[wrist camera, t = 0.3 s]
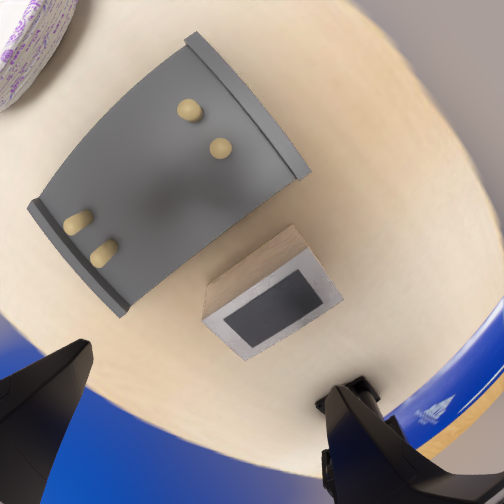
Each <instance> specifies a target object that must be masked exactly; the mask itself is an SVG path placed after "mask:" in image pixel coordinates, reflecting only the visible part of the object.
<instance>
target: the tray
mask: <svg viewBox="0 0 504 504" xmlns="http://www.w3.org/2000/svg"><path fill="white" fill-rule="evenodd" d="M184 42H185V43H186V45H185V46H184V47H183V48H181V49H180V50H178V51H177V52H176V53H174V54H173V55H172V56H170V57H169V58H168V59H166V60H165V61H164V62H163V63H161V64H160V65H159V66H158V67H156V68H155V69H154V70H153V71H151V72H150V73H149V74H148V75H147V76H145V77H144V78H143V79H142V80H141V81H140V82H139V83H137V84H136V85H135V86H134V87H133V88H132V89H131V90H130V91H129V92H128V93H126V94H125V95H124V96H123V97H122V98H121V99H120V100H119V101H118V102H117V103H116V104H115V105H114V106H113V107H112V108H111V109H110V110H109V111H108V112H107V113H106V114H105V115H104V116H103V117H102V118H101V119H100V120H99V121H98V123H97V124H96V125H95V126H94V127H93V128H92V129H91V130H90V131H89V132H88V134H87V135H86V136H85V137H84V138H83V139H82V140H81V142H80V143H79V144H78V145H77V146H76V148H75V149H74V150H73V151H72V153H71V154H70V155H69V156H68V158H67V159H66V160H65V161H64V163H63V164H62V165H61V167H60V168H59V169H58V171H57V172H56V173H55V175H54V176H53V178H52V179H51V180H50V182H49V183H48V185H47V186H46V188H45V189H44V190H43V192H42V193H41V195H40V196H39V198H36V199H33V200H32V201H31V202H30V204H29V206H28V207H27V210H28V211H29V213H30V214H31V216H32V217H33V218H34V220H35V221H36V223H37V224H38V225H39V227H40V228H41V230H42V231H43V232H44V234H45V235H46V236H47V237H48V239H49V240H50V241H51V243H52V244H53V245H54V246H55V248H56V249H57V250H58V252H59V253H60V254H61V255H62V256H63V258H64V259H65V260H66V261H67V262H68V264H69V265H70V266H71V267H72V268H73V270H74V271H75V272H76V273H77V274H78V275H79V276H80V278H81V279H82V280H83V281H84V282H85V283H86V284H87V285H88V286H89V287H90V289H91V290H92V291H93V292H94V293H95V294H96V295H97V296H98V297H99V298H100V299H101V300H102V301H103V302H104V303H105V304H106V305H107V306H108V307H109V308H110V309H111V310H112V311H113V312H114V313H115V314H116V315H117V316H118V317H119V318H121V317H122V316H124V315H125V314H126V313H127V312H128V310H129V308H130V307H131V306H132V305H133V304H134V303H135V302H136V301H138V300H139V299H140V298H141V297H143V296H144V295H145V294H146V293H147V292H149V291H150V290H151V289H152V288H154V287H155V286H156V285H157V284H159V283H160V282H161V281H162V280H164V279H165V278H166V277H167V276H169V275H170V274H171V273H172V272H174V271H175V270H176V269H177V268H179V267H180V266H181V265H182V264H184V263H185V262H186V261H187V260H189V259H190V258H191V257H193V256H194V255H195V254H196V253H198V252H199V251H200V250H202V249H203V248H204V247H205V246H207V245H208V244H209V243H211V242H212V241H213V240H215V239H216V238H217V237H218V236H220V235H221V234H222V233H224V232H225V231H226V230H228V229H229V228H230V227H232V226H233V225H234V224H236V223H237V222H238V221H240V220H241V219H242V218H244V217H245V216H246V215H248V214H249V213H250V212H252V211H253V210H254V209H256V208H257V207H258V206H260V205H261V204H262V203H264V202H265V201H266V200H268V199H269V198H270V197H272V196H273V195H275V194H276V193H277V192H279V191H280V190H281V189H283V188H284V187H286V186H287V185H288V184H290V183H291V182H292V181H294V180H295V179H297V180H299V181H300V180H301V179H303V178H304V177H305V176H307V175H308V174H309V173H311V172H312V171H311V169H310V168H309V167H308V165H307V164H306V162H305V161H304V159H303V158H302V157H301V155H300V154H299V152H298V151H297V150H296V148H295V147H294V145H293V144H292V143H291V141H290V140H289V139H288V137H287V136H286V135H285V133H284V132H283V131H282V129H281V128H280V127H279V125H278V124H277V123H276V121H275V120H274V119H273V118H272V116H271V115H270V114H269V113H268V111H267V110H266V109H265V107H264V106H263V105H262V104H261V102H260V101H259V100H258V99H257V98H256V96H255V95H254V94H253V93H252V92H251V90H250V89H249V88H248V87H247V86H246V84H245V83H244V82H243V81H242V80H241V79H240V77H239V76H238V75H237V74H236V73H235V72H234V71H233V69H232V68H231V67H230V66H229V65H228V64H227V63H226V62H225V61H224V59H223V58H222V57H221V56H220V55H219V54H218V53H217V52H216V51H215V50H214V49H213V48H212V47H211V45H210V44H209V43H208V42H207V41H206V40H205V39H204V38H203V37H202V36H201V35H200V34H199V33H198V32H197V31H196V32H195V33H193V34H192V35H190V36H189V37H187V38H186V39H184Z"/></svg>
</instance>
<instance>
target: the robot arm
mask: <svg viewBox="0 0 504 504" xmlns="http://www.w3.org/2000/svg"><path fill="white" fill-rule="evenodd" d="M92 364H93V352H92V345H91V342H89V341H87V340H84V339H78V340H76V341H75V342H73V343H71V344H69V345H67V346H65V347H63V348H61V349H59V350H57V351H55V352H53V353H51V354H50V355H48V356H46V357H44V358H42V359H40V360H38V361H36V362H34V363H32V364H30V365H28V366H27V367H25V368H23V369H21V370H19V371H17V372H15V373H13V374H12V375H9V376H8V377H5V378H4V379H1V380H0V504H40V502H41V498H42V495H43V492H44V489H45V486H46V483H47V479H48V477H49V474H50V471H51V468H52V466H53V463H54V460H55V457H56V454H57V452H58V450H59V447H60V444H61V442H62V440H63V437H64V435H65V432H66V430H67V428H68V425H69V423H70V420H71V418H72V416H73V414H74V412H75V410H76V407H77V405H78V403H79V401H80V398H81V396H82V393H83V390H84V387H85V384H86V381H87V379H88V376H89V373H90V370H91V367H92ZM379 400H380V396H379V395H378V394H377V392H376V391H375V390H374V388H373V387H372V386H371V384H370V383H369V382H368V381H367V379H366V378H365V377H360V378H359V379H357V380H355V381H354V382H352V383H350V384H349V385H347V386H344V385H335V386H334V387H333V388H332V389H331V391H330V393H329V394H328V396H327V397H325V398H324V399H322V400H320V401H318V402H316V403H315V405H316V408H317V409H319V410H320V411H321V412H322V413H324V414H325V415H326V428H327V438H328V444H329V449H325V450H323V451H322V475H323V487H324V488H325V489H327V491H328V492H329V494H330V495H331V496H332V497H333V498H334V503H335V504H504V472H501V473H498V474H488V475H456V474H451V473H449V472H446V471H444V470H443V469H441V468H440V467H439V466H437V465H436V464H434V463H433V462H431V461H430V460H429V459H427V458H426V457H424V456H423V455H422V454H420V453H419V452H418V451H416V450H415V449H414V448H413V447H412V446H410V444H409V442H408V439H407V437H406V435H405V433H404V431H403V429H402V427H401V425H400V424H399V422H398V420H397V419H396V417H395V415H393V416H391V417H390V418H389V419H388V420H386V421H384V418H383V416H382V414H381V412H380V410H379V408H378V405H377V403H376V402H378V401H379Z"/></svg>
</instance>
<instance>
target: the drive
mask: <svg viewBox="0 0 504 504" xmlns="http://www.w3.org/2000/svg"><path fill="white" fill-rule="evenodd" d="M342 300H344V298H343V297H342V295H341V294H340V292H339V291H338V289H337V287H336V286H335V284H334V283H333V281H332V280H331V278H330V277H329V275H328V274H327V272H326V271H325V269H324V268H323V266H322V265H321V263H320V262H319V260H318V259H317V257H316V256H315V255H314V253H313V252H312V250H311V249H310V248H309V246H308V245H307V243H306V242H305V240H304V239H303V238H302V236H301V235H300V233H299V232H298V231H297V229H296V228H295V227H294V225H293V224H291V225H290V226H288V227H287V228H286V229H284V230H283V231H282V232H280V233H279V234H277V235H276V236H275V237H273V238H272V239H270V240H269V241H268V242H266V243H265V244H264V245H262V246H261V247H259V248H258V249H257V250H255V251H254V252H252V253H251V254H250V255H248V256H247V257H246V258H244V259H243V260H241V261H240V262H239V263H237V264H236V265H234V266H233V267H232V268H230V269H229V270H228V271H226V272H225V273H223V274H222V275H221V276H219V277H218V278H216V279H215V280H214V281H212V282H211V283H210V284H208V286H207V292H206V297H205V303H204V308H203V314H202V320H201V321H202V322H203V323H204V324H205V325H206V326H207V327H208V328H209V329H210V330H211V331H212V332H213V333H214V334H215V335H217V336H218V337H219V338H220V339H221V340H222V341H223V342H224V343H225V344H226V345H227V346H229V347H230V348H231V349H232V350H233V351H234V352H235V353H236V354H238V355H239V356H240V357H241V358H242V359H243V360H244V361H246V360H248V359H250V358H252V357H253V356H255V355H257V354H259V353H260V352H262V351H264V350H266V349H267V348H269V347H271V346H272V345H274V344H276V343H277V342H279V341H281V340H282V339H284V338H286V337H287V336H289V335H290V334H292V333H294V332H295V331H297V330H298V329H300V328H302V327H303V326H305V325H306V324H308V323H309V322H311V321H313V320H314V319H316V318H317V317H319V316H320V315H322V314H323V313H325V312H326V311H328V310H329V309H331V308H332V307H334V306H335V305H337V304H338V303H339V302H341V301H342Z"/></svg>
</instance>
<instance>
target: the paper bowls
mask: <svg viewBox="0 0 504 504" xmlns="http://www.w3.org/2000/svg"><path fill="white" fill-rule="evenodd" d="M77 2H78V0H0V112H2V111H4V110H5V109H7V108H8V107H9V106H10V105H12V104H13V103H14V102H15V101H17V100H18V99H19V98H20V97H21V96H22V94H23V93H24V92H25V91H26V90H27V89H28V88H29V87H30V86H31V84H32V83H33V81H34V80H35V79H36V77H37V76H38V74H39V73H40V72H41V70H42V69H43V68H44V66H45V65H46V63H47V62H48V61H49V59H50V58H51V56H52V55H53V53H54V52H55V50H56V48H57V47H58V45H59V43H60V41H61V39H62V37H63V35H64V33H65V31H66V29H67V27H68V25H69V23H70V21H71V19H72V17H73V15H74V11H75V8H76V5H77Z"/></svg>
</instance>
